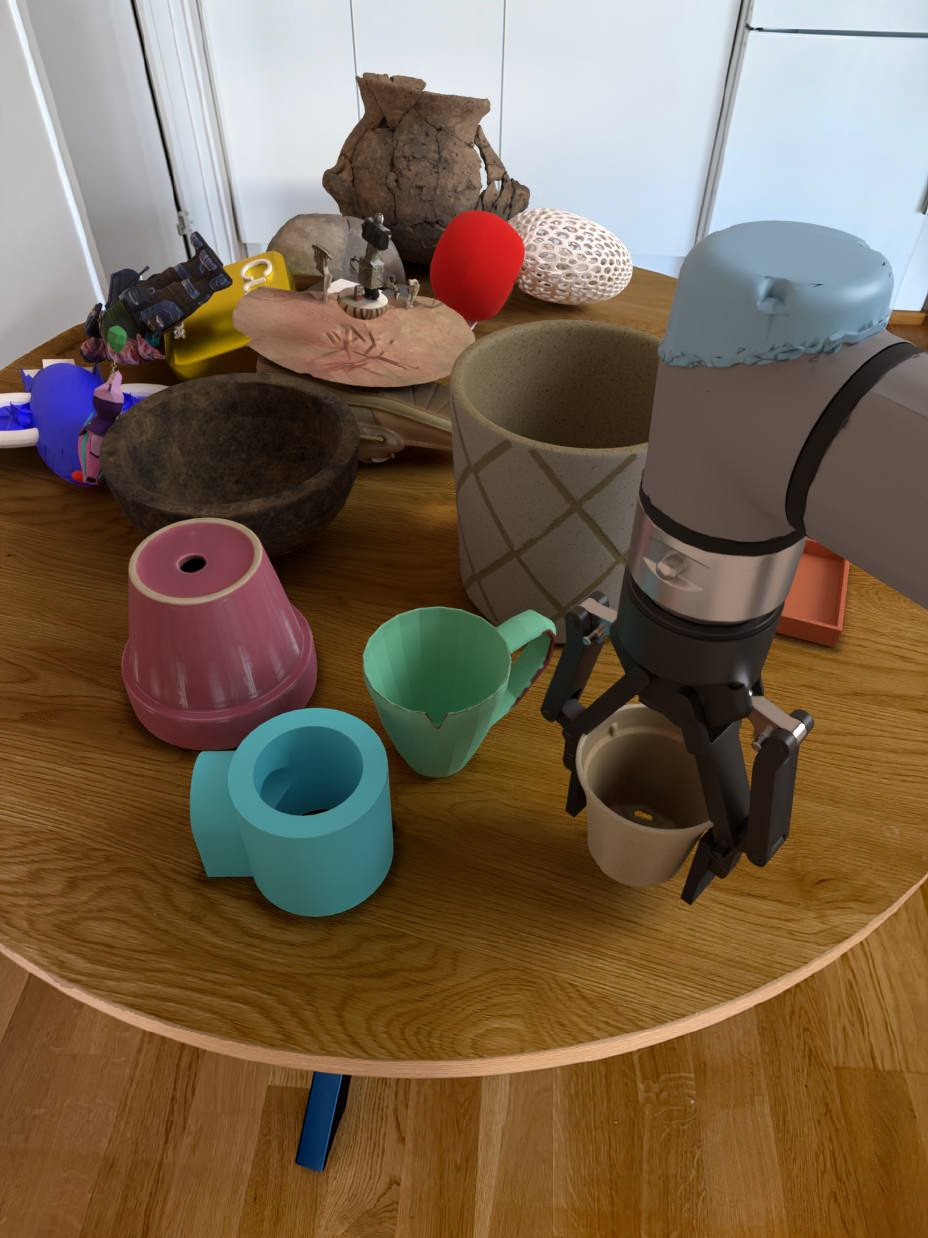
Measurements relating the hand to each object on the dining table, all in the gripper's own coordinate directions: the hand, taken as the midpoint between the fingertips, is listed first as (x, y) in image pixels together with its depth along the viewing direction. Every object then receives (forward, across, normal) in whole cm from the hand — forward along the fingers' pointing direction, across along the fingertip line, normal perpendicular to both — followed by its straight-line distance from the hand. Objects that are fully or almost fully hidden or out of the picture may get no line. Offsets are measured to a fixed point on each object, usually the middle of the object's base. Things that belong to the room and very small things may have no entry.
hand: (637, 843), depth 58 cm
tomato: (-9, -62, +43) cm, 76 cm away
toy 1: (-15, -59, +3) cm, 61 cm away
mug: (+3, -15, 0) cm, 16 cm away
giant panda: (-4, -62, +37) cm, 72 cm away
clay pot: (+1, -77, +54) cm, 94 cm away
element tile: (-1, -72, +22) cm, 76 cm away
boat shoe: (-6, -48, +22) cm, 53 cm away
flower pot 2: (+1, 0, 0) cm, 1 cm away
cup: (+3, -16, -14) cm, 22 cm away
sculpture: (-6, -56, +26) cm, 61 cm away
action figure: (-12, -72, +21) cm, 76 cm away
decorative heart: (-7, -56, +52) cm, 77 cm away
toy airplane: (-4, -71, +1) cm, 71 cm away
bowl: (+2, -46, +4) cm, 46 cm away
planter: (+3, -21, +18) cm, 28 cm away
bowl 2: (-9, -77, +42) cm, 88 cm away
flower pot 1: (-11, -32, -9) cm, 35 cm away
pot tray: (+3, -7, +31) cm, 32 cm away
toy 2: (-2, -79, +16) cm, 81 cm away
